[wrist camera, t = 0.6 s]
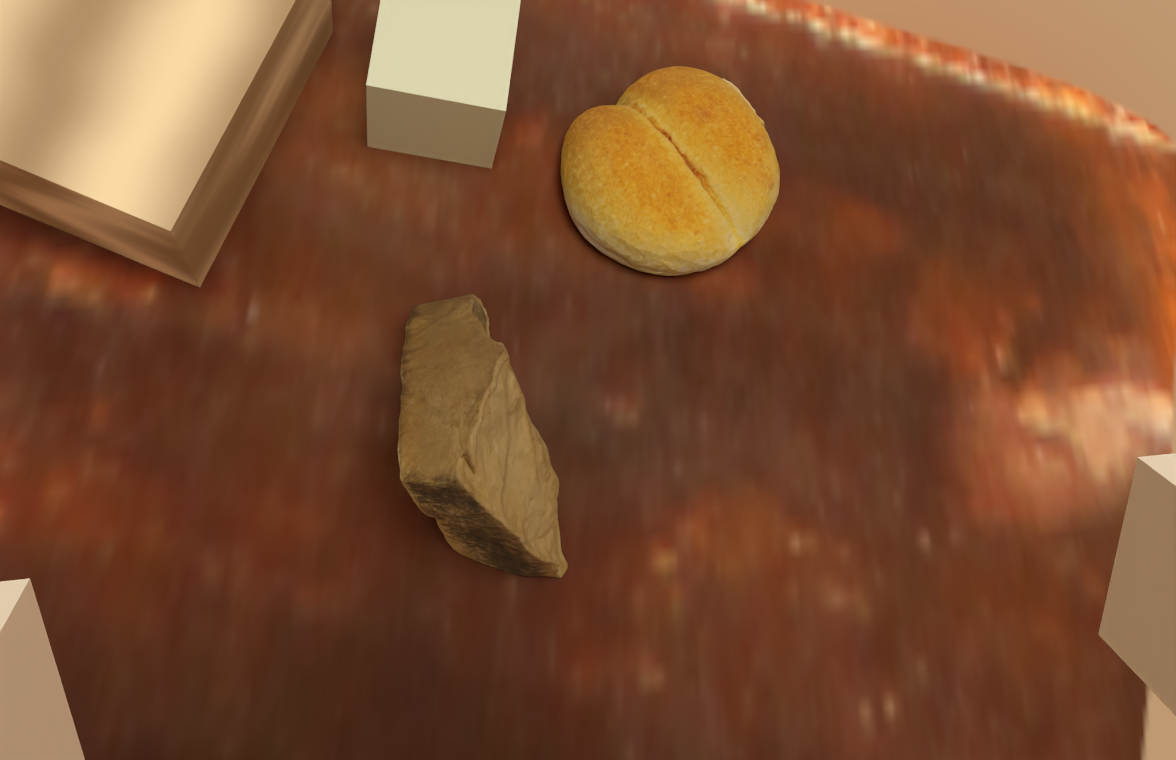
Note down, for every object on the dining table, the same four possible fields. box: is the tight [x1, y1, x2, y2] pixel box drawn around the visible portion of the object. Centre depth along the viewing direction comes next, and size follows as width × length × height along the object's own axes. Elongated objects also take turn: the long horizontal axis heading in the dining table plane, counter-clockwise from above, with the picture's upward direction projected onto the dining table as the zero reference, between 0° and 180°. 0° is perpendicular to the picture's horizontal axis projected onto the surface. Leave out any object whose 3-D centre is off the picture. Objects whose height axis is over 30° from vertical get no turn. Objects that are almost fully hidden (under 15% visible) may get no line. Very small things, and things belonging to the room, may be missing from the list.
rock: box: [398, 294, 568, 578], centre depth 37 cm, size 11×9×10 cm
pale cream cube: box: [366, 0, 521, 169], centre depth 40 cm, size 5×5×5 cm
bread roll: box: [561, 66, 780, 276], centre depth 42 cm, size 8×9×4 cm
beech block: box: [0, 0, 333, 287], centre depth 37 cm, size 12×12×6 cm
